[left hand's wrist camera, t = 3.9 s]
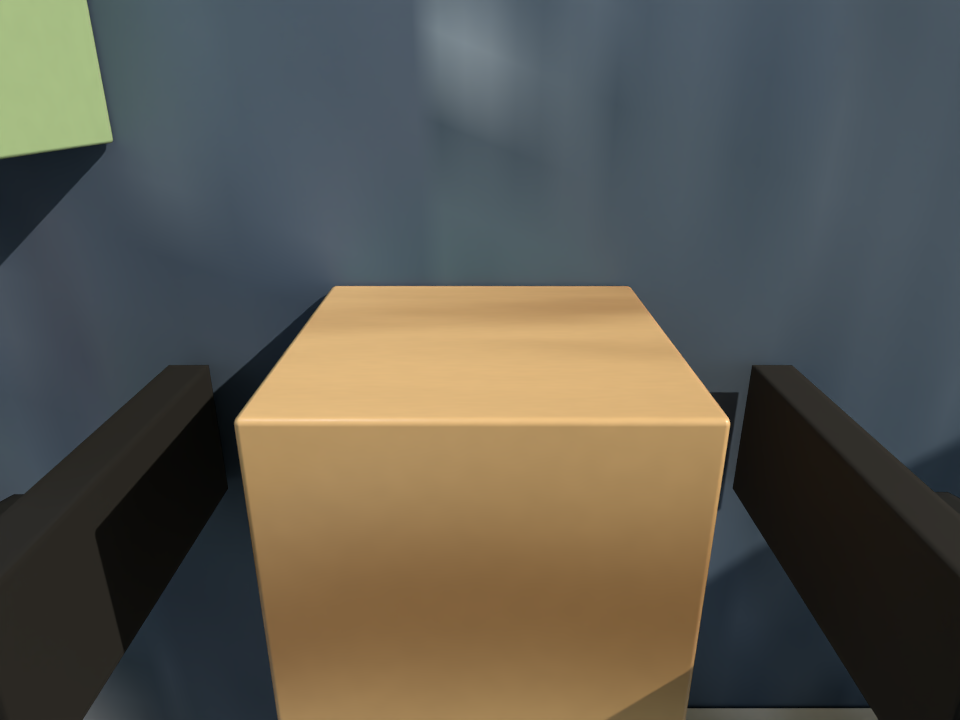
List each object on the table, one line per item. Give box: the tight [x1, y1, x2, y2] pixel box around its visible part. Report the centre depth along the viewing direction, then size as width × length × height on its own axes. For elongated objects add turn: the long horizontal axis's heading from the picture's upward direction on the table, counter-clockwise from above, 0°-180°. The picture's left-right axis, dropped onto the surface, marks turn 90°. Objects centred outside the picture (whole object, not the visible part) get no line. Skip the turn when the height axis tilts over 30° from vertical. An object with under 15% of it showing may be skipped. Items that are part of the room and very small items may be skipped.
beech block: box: [234, 286, 730, 720], centre depth 11 cm, size 6×6×6 cm
